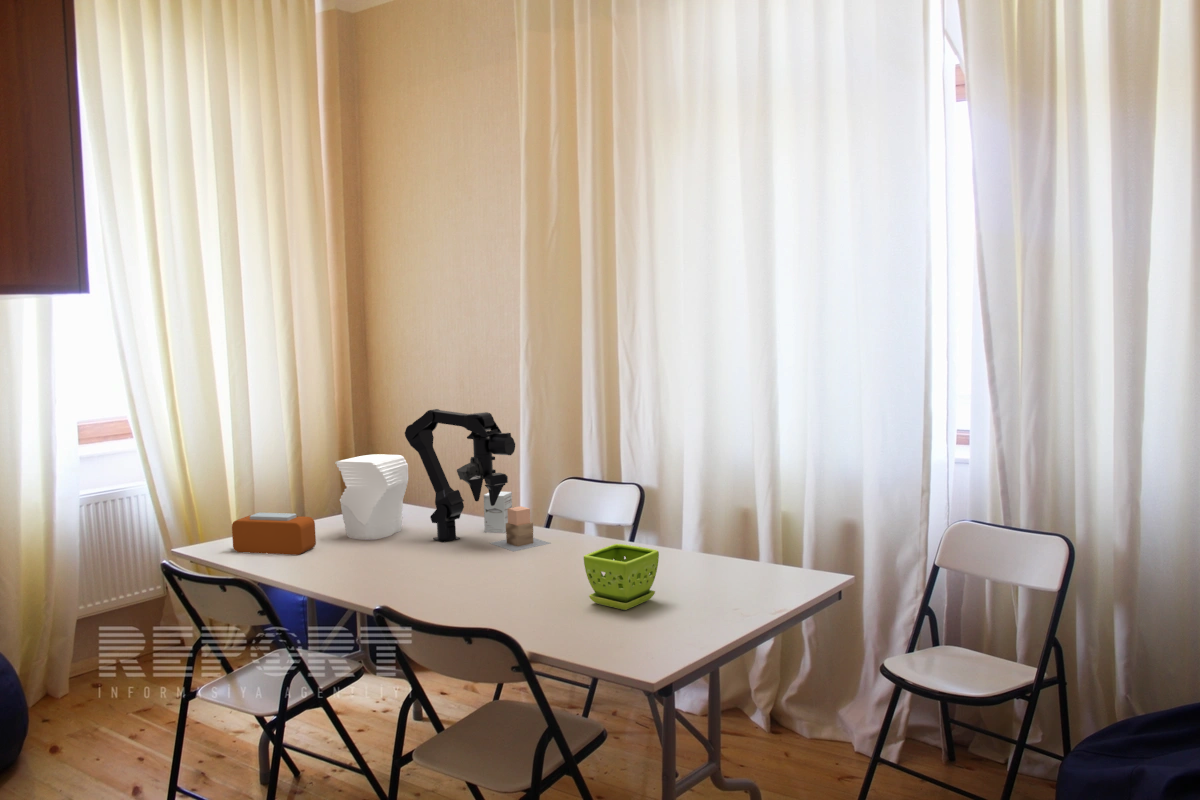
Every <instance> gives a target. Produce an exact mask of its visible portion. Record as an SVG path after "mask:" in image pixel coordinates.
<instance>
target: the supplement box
mask: <svg viewBox="0 0 1200 800" xmlns="http://www.w3.org/2000/svg"><path fill="white" fill-rule="evenodd" d="M512 493H513V492H512V491H501V492H500V494H499V496H498V498H497V501H496V503H495V505H494V506H491V504H490V497H489V492H487V493H484V494H483V514H484V515H483V517H484V518H483V520H484V521H483V522H484V523H483V524H484V533H503V534H504V533H505V534H506V523H508V510H507V509H508V508H513V498H512V497H513V496H512V495H513V494H512Z"/></svg>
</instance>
